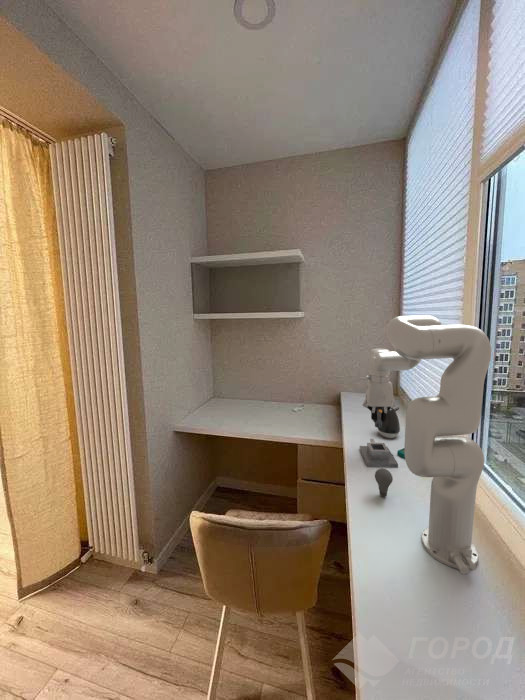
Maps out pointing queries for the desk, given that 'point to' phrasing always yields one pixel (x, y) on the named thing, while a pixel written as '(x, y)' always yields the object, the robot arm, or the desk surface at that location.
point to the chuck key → (378, 417)
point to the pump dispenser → (390, 424)
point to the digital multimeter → (401, 453)
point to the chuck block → (377, 455)
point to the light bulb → (383, 480)
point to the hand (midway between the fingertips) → (378, 420)
